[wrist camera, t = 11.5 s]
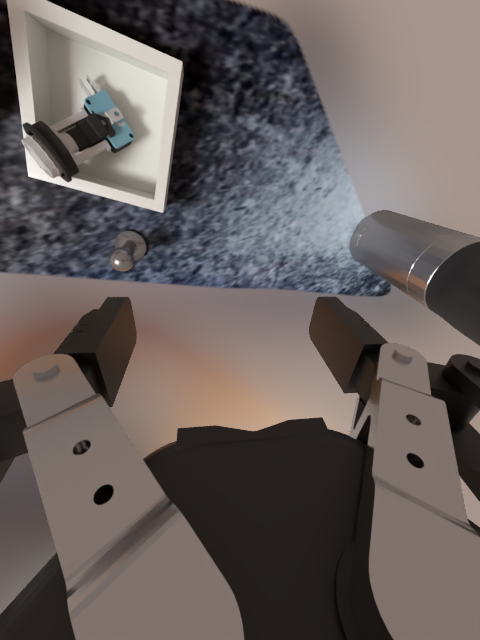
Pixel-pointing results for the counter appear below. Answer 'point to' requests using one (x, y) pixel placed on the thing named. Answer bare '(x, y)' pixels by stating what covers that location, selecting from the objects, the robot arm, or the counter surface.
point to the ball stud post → (127, 250)
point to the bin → (106, 74)
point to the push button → (78, 135)
